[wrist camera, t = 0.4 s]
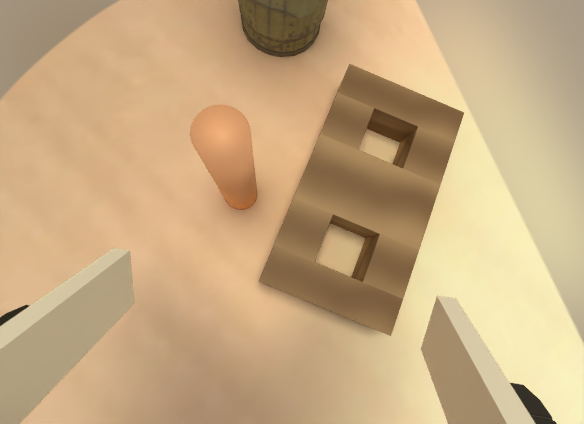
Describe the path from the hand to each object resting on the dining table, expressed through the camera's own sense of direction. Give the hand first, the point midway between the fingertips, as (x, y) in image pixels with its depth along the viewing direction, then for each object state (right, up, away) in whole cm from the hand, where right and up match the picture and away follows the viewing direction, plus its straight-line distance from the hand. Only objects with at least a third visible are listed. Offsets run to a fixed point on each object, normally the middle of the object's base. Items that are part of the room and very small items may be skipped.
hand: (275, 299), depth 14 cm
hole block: (+7, +5, +19) cm, 21 cm away
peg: (-4, +6, +18) cm, 20 cm away
